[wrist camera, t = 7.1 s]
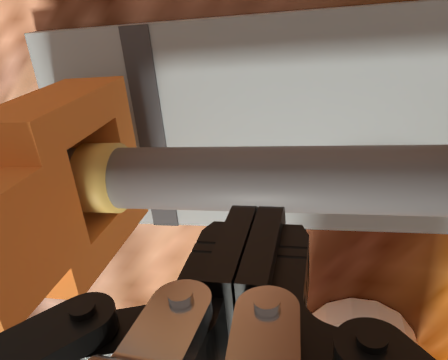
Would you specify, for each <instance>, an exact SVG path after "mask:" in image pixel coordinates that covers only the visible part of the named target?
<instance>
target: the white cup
mask: <svg viewBox="0 0 448 360" xmlns="http://www.w3.org/2000/svg"><path fill="white" fill-rule="evenodd" d="M312 314H313V315H314V316H315V317H316V318H318V319H320V320H321V321H323V322H326V323H328V324H331V325H333V326H336V327H339V326H340V325H341V324H342V323H344V322H345V321H347V320H350V319H353V318H358V317H371V318H377V319H380V320H383V321H386V322H388V323H390V324H392V325H394V326H395V327H397V328H398V329H400V330H401V331H402V332H403V333H404V334H406V335H407V336H408V337H409V338H410V339H412V340H413V341H414V342H415V343H416V344H418V343H417V340H416V337H415V333H414V331H413V330H412V328H411V327H410V326H409V324H408V323H407V322H406V320H405V319H404V318H403V316H402V315H401V314H400V313H399V312H397V311H395V310H393V309H391V308H389V307H387V306H386V305H384V304H382V303H380V302H378V301H373V300H365V299H358V298H347V299H342V300H338V301H333V302H329V303H326V304H325V305H323V306H322V307H321V308H319V309H318V310H316V311H315V312H314V313H312Z"/></svg>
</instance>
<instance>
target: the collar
mask: <svg viewBox="0 0 448 360" xmlns="http://www.w3.org/2000/svg"><path fill="white" fill-rule="evenodd" d="M84 143H123V144H124V145H126V146H127V147H128V148H131V147H136V141H135V136H134V130H133V125H132V119H131V114H130V108H129V103H128V98H127V92H126V87H125V81H124V76H110V77H91V78H71V79H63V80H61V81H58V82H56V83H53V84H50V85H48V86H45V87H43V88H40V89H38V90H35V91H33V92H30V93H28V94H25V95H23V96H20V97H18V98H15V99H12V100H10V101H7V102H5V103H2V104H0V332H2V331H5V330H7V329H9V328H11V327H13V326H15V325H17V324H19V323H21V322H23V321H25V320H26V319H27V318H28V317H29V315H30V314H31V313H32V312H33V311H34V310H35V309H36V307H37V306H38V305H39V304H40V303H41V302H42V301H43V299H44V298H54V299H67V300H68V299H70V298H72V297H75V296H77V295H80V294H84V293H86V292H87V291H88V290H89V289H90V287H91V286H92V285H93V283H94V282H95V281H96V279H97V278H98V277H99V275H100V274H101V273H102V271H103V270H104V269H105V267H106V266H107V265H108V263H109V262H110V261H111V259H112V258H113V257H114V256H115V254H116V253H117V252H118V250H119V249H120V248H121V246H122V245H123V244H124V242H125V241H126V240H127V238H128V237H129V236H130V234H131V233H132V232H133V230H134V229H135V228H136V227H137V225H138V224H139V223H140V221H141V220H142V219H143V217H144V216H145V215H146V213H147V212H148V209H126V210H125V211H124V212H122V213H93V212H82V208H81V204H80V200H79V196H78V192H77V188H76V184H75V181H74V177H73V173H72V169H71V165H70V161H69V157H68V153H67V150H68V149H69V148H77V147H78V146H80V145H81V144H84Z"/></svg>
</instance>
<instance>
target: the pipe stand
mask: <svg viewBox="0 0 448 360" xmlns="http://www.w3.org/2000/svg"><path fill="white" fill-rule="evenodd" d="M24 35H25V38H26V42H27V46H28V50H29V53H30V57H31V61H32V65H33V68H34V72H35V76H36V80H37V83H38V87H39V89H40V88H43V87H45V86H48V85H50V84H53V83H56V82H58V81H61V80H63V79H71V78H91V77H110V76H124V81H125V87H126V92H127V98H128V103H129V108H130V114H131V119H132V125H133V130H134V136H135V141H136V147H131V148H128V147H127V146H126V145H124V144H123V143H84V144H81V145H80V146H78V147H77V148H69V149H68V150H67V153H68V157H69V161H70V165H71V169H72V173H73V177H74V181H75V184H76V188H77V192H78V196H79V200H80V204H81V208H82V212H93V213H122V212H124V211H125V210H126V209H148V212H147V213H146V215H145V216H144V217H143V219H142V220H141V221H140V223H139V224H154V225H170V226H178V225H197V226H208V225H210V224H211V223H212V222H214V221H221V222H225V220H226V218H227V216H228V213H229V211H230V209H231V207H232V205H239V206H258V207H259V206H273V207H285V219H286V224H294V225H303V227H304V229H312V230H341V231H370V232H399V233H428V234H448V0H418V1H406V2H393V3H381V4H368V5H356V6H344V7H331V8H319V9H307V10H294V11H282V12H269V13H257V14H245V15H232V16H220V17H208V18H195V19H183V20H170V21H158V22H146V23H133V24H121V25H109V26H96V27H84V28H71V29H59V30H47V31H35V32H30V33H25V34H24Z"/></svg>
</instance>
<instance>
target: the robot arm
mask: <svg viewBox="0 0 448 360" xmlns="http://www.w3.org/2000/svg"><path fill="white" fill-rule="evenodd" d="M308 286H309V235H308V233H307V232H306V230H305V229H304V227H303V225H294V224H286V219H285V207H273V206H259V207H258V206H239V205H232V207H231V209H230V211H229V213H228V216H227V218H226V220H225V222H221V221H214V222H212V223H211V224H210V225H208V226H207V227H206V228H205V229H203V230H202V232H201V234H200V236H199V238H198V240H197V243H196V244H195V245H194V247H193V249H192V252H191V253H190V255H189V257H188V259H187V261H186V263H185V265H184V267H183V269H182V271H181V273H180V275H179V277H178V279H177V280H176V281H172V282H170V283H167V284H165V285H163V286H162V287H160V288H159V289H158V290H157V291H156V292H155V293H154V294H153V295H152V297H151V298H150V300H149V301H148V303H147V304H146V305H143V306H137V307H130V308H124V309H117V310H116V307H115V303H114V300H113V299H112V298H111V297H110V296H109V295H107V294H104V293H100V292H90V293H84V294H80V295H77V296H75V297H72V298H70V299H68V300H66V301H64V302H62V303H60V304H58V305H56V306H54V307H52V308H50V309H48V310H46V311H44V312H41V313H39V314H37V315H35V316H33V317H31V318H29V319H27V320H25V321H23V322H21V323H19V324H17V325H15V326H13V327H11V328H9V329H7V330H5V331H2V332H0V360H436V359H435V358H433V357H432V356H431V355H430V354H429V353H427V352H426V351H425V350H424V349H422V348H421V347H420V346H419V345H418V344H416V343H415V342H414V341H413V340H412V339H410V338H409V337H408V336H407V335H406V334H404V333H403V332H402V331H401V330H400V329H398V328H397V327H395V326H394V325H392V324H390V323H388V322H386V321H383V320H380V319H377V318H371V317H358V318H353V319H350V320H347V321H345V322H344V323H342V324H341V325H340V326H339V327H336V326H333V325H331V324H328V323H326V322H323V321H321V320H320V319H318V318H316V317H315V316H314V315H313V314H312V313H311V312H309V310H308V309H307V299H308Z"/></svg>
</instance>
